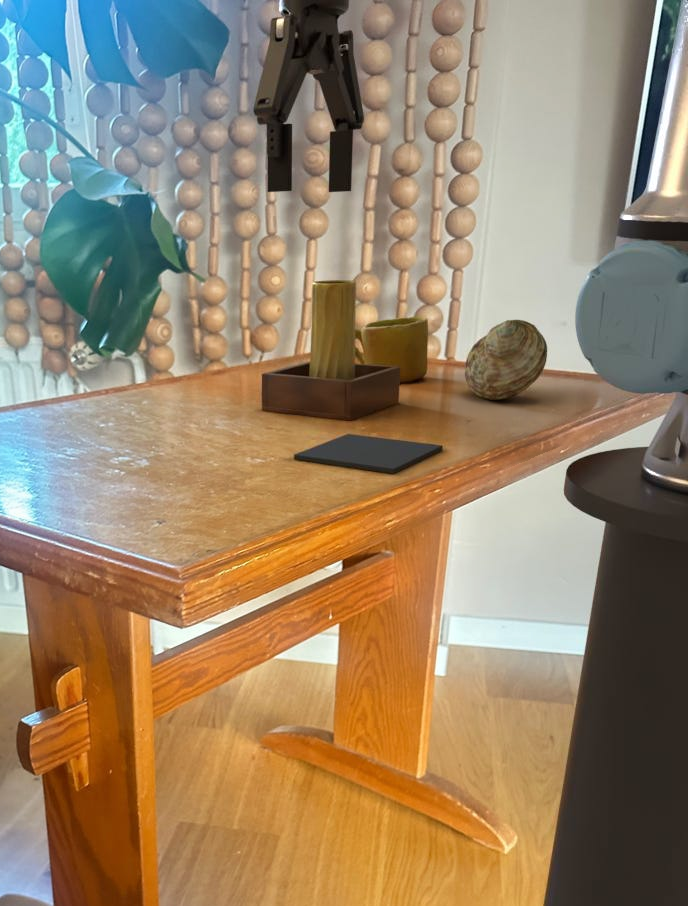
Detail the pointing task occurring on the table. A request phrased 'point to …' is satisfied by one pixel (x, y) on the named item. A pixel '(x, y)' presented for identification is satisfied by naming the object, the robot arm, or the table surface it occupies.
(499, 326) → the seashell
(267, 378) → the bin
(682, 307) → the robot arm
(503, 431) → the table surface
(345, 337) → the vase
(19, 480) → the table surface
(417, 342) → the mug
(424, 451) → the mat
